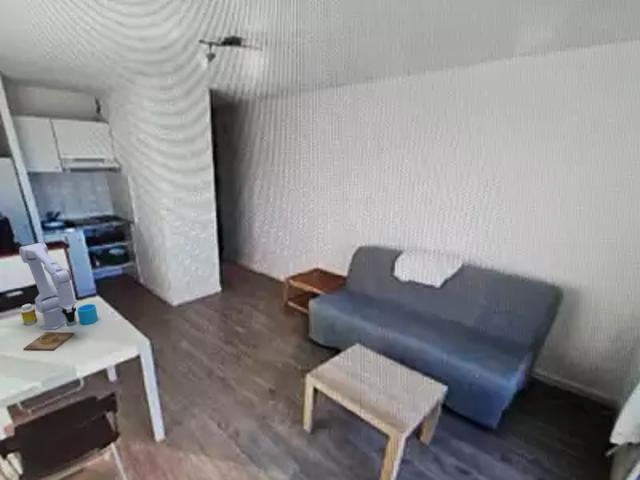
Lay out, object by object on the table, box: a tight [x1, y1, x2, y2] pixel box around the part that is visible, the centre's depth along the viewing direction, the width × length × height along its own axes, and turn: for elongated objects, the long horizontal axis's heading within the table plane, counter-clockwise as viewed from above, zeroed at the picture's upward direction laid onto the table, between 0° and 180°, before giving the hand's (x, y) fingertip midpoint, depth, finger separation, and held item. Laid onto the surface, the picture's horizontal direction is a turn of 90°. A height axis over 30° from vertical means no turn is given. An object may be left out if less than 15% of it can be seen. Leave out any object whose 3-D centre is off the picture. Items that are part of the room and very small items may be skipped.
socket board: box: [23, 331, 75, 352], centre depth 170 cm, size 14×14×1 cm
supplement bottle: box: [20, 303, 38, 326], centre depth 185 cm, size 6×6×10 cm
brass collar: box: [39, 333, 58, 344], centre depth 170 cm, size 7×7×2 cm
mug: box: [76, 303, 99, 326], centre depth 189 cm, size 12×8×8 cm
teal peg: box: [65, 315, 78, 327], centre depth 172 cm, size 4×4×7 cm
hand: (71, 319), depth 172 cm, fingers closed on teal peg, 4 cm apart
